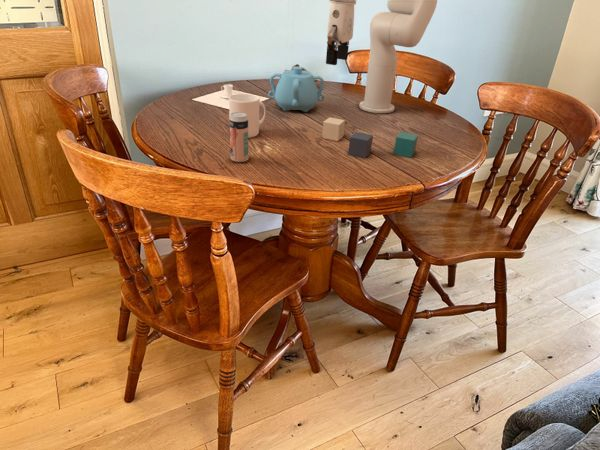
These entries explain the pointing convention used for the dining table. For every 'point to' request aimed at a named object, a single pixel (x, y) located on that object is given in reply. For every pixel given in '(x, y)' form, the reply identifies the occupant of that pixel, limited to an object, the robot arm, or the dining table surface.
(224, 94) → the teacup and saucer
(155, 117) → the dining table surface
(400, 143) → the teal block
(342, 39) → the robot arm
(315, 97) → the decorative pot
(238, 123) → the supplement bottle
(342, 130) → the cream block
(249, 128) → the mug
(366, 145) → the slate block
